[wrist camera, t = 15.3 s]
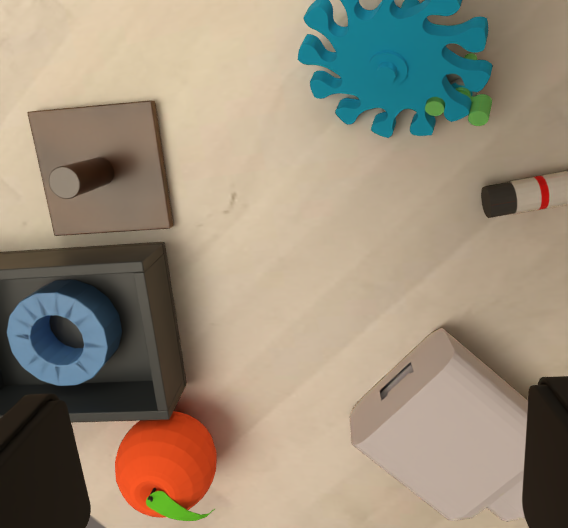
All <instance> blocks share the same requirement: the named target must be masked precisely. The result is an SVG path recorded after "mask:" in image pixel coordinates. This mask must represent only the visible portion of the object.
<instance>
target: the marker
mask: <svg viewBox="0 0 568 528" xmlns="http://www.w3.org/2000/svg"><path fill="white" fill-rule="evenodd" d="M481 198H482V205H483V210H484V212H485V215H486V216H487V217H488V218H491V217H496V216H502V215H508V214H517V213H523V212H529V211H534V210H540V209H546V208H551V207H557V206H563V205H568V171H563V172H558V173H552V174H547V175H541V176H536V177H531V178H525V179H520V180H514V181H509V182H507V183H502V184H496V185H491V186H486V187H483V188H482V193H481Z"/></svg>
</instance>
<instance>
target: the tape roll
mask: <svg viewBox="0 0 568 528" xmlns="http://www.w3.org/2000/svg"><path fill="white" fill-rule="evenodd" d="M51 315H58V316H61V317H64V318H67V319H68V320H70V321H71V322H72V323H74V324H75V325H76V326H77V328H78V329H79V331H80V332H81V334H82V337H83V341H84V348H73V347H70V346H67V345H64V344H63V343H62V342H60V341H59V340H58V339H57V338H56V337H55V335H54V334H53V332H52V331H51V327H50V323H49V321H50V316H51ZM121 335H122V328H121V322H120V317H119V314H118V312H117V310H116V309H115V307H114V306H113V304H112V303H111V301H110V299H109V298H108V297H107V296H105V295H104V294H103V293H102V292H100V291H99V290H98V289H96V288H95V287H94V286H92V285H89V284H86V283H83V282H80V281H77V280H56V281H53V282H51V283H49V284H47V285H46V286H44V287H42V288H40V289H38V290H37V291H35V292H34V293H32V294H31V295H29V296H28V297H26V298H25V299H23V300H22V301H20V302H19V304H18V305H17V306H16V308H15V309H14V310H13V312H12V313H11V315H10V316H9V322H8V328H7V336H8V340H9V344H10V348H11V351H12V353H13V355H14V356H15V358H16V359H17V360H18V362H19V363H20V365H21V366H22V367H23V368H24V369H25V370H27V371H28V372H29V373H31V374H32V375H33V376H35V377H36V378H38V379H40V380H41V381H44V382H47V383H50V384H54V385H57V386H69V385H79V384H81V383H83V382H85V381H87V380H89V379H92V378H93V377H94V376H95V375H96V374H97V373H98V372H99V370H100V369H101V368H102V367H103V366H104V365H105V363H106V362H107V361H108V360H109V359H110V357H111V356H112V355H113V354H114V353H115V351H116V350H117V349H118V347H119V343H120V339H121Z"/></svg>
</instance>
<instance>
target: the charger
mask: <svg viewBox="0 0 568 528" xmlns="http://www.w3.org/2000/svg"><path fill="white" fill-rule="evenodd" d="M527 412H528V400H526V399H525V398H524V397H523V396H522V395H521V394H519V393H518V392H517V391H516V390H515V389H514V388H512V387H511V386H510V385H509V384H508V383H506V382H505V381H504V380H503V379H502V378H501V377H499V376H498V375H497V374H496V373H495V372H494V371H492V370H491V369H490V368H489V367H488V366H487V365H485V364H484V363H483V362H482V361H481V360H479V359H478V358H477V357H476V356H475V355H474V354H472V353H471V352H470V351H469V350H468V349H467V348H465V347H464V346H463V345H462V344H461V343H460V342H458V341H457V340H456V339H455V338H454V337H452V336H451V335H450V334H449V333H448V332H447V331H445V330H444V329H443V328H440V329H438V330H436V331H434V332H433V333H431V334H430V335H429V336H427V337H426V338H425V339H424V340H423V341H422V342H421V343H420V344H419V345H418V346H416V347H415V348H414V349H413V350H412V351H411V352H410V353H409V354H408V355H407V356H406V357H405V358H404V359H403V360H402V361H401V362H399V363H398V364H397V365H396V366H395V367H394V368H393V369H392V370H391V371H390V372H389V373H388V374H387V375H386V376H385V377H384V378H382V379H381V380H380V381H379V382H378V383H377V384H376V385H375V386H374V387H373V388H372V389H371V390H370V391H369V392H368V393H367V394H365V395H364V396H363V397H362V398H361V400H360V401H359V402H358V403H357V404H356V405H355V407H354V408H353V410H352V412H351V413H350V428H351V441H352V445H353V446H355V447H356V448H357V449H358V450H360V451H361V452H362V453H363V454H365V455H366V456H367V457H369V458H370V459H371V460H372V461H374V462H375V463H376V464H378V465H379V466H380V467H381V468H383V469H384V470H385V471H386V472H388V473H389V474H390V475H392V476H393V477H394V478H395V479H397V480H398V481H399V482H401V483H402V484H403V485H404V486H406V487H407V488H408V489H409V490H411V491H412V492H413V493H415V494H416V495H417V496H418V497H420V498H421V499H422V500H424V501H425V502H426V503H427V504H429V505H430V506H431V507H432V508H434V509H435V510H436V511H438V512H439V513H440V514H441V515H443V516H444V517H445V518H447V519H448V520H451V521H453V520H461V519H470V518H473V517H475V516H476V515H478V514H479V513H480V512H482V511H483V510H484V509H485V508H488V509H489V510H490V511H491V512H493V513H494V514H495V515H496V516H498V517H499V518H500V519H501V520H504V521H507V522H508V521H512V520H517V519H522V518H525V516H524V512H523V507H522V490H523V474H524V458H525V443H526V427H527Z"/></svg>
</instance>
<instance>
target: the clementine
mask: <svg viewBox="0 0 568 528" xmlns="http://www.w3.org/2000/svg"><path fill="white" fill-rule="evenodd" d="M216 463H217V458H216V449H215V446H214V443H213V440H212V437H211V435H210V433H209V432H208V430H207V429H206V427H205V426H204V425H202V424H201V423H200V422H199V421H198V420H197V419H195V418H193V417H191V416H190V415H187V414H184V413H181V412H177V411H173V413H172V415H171V417H170V419H169V420H140V421H139V422H138V423H137V424H135V425H134V426H133V427H132V428H131V429H130V430H129V432H128V433H127V434H126V435H125V437H124V439H123V440H122V442H121V444H120V447H119V449H118V452H117V456H116V461H115V473H116V482H117V484H118V487H119V489H120V491H121V493H122V495H123V497H124V498H125V499H126V501H127V502H128V504H130V505H131V506H132V507H133V508H134V509H135V510H137V511H139V512H141V513H143V514H145V515H149V516H152V517H162V518H163V517H168V518H171V519H176V520H182V521H196V520H199V519H202V518H205V517H207V516H208V515H209V514H210V513H211V512H212V511H213V510H212V511H211V512H210V513H209V514H203V515H200V514H197V513H193V512H191V511H188V510H189V509H190V508H192V507H193V506H194V505H195V504H197V503H198V502H199V501H200V500H201V499H202V498H203V497H204V495H205V494H206V492H207V491H208V489H209V487H210V485H211V483H212V481H213V478H214V475H215V472H216ZM214 510H215V509H214Z"/></svg>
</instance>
